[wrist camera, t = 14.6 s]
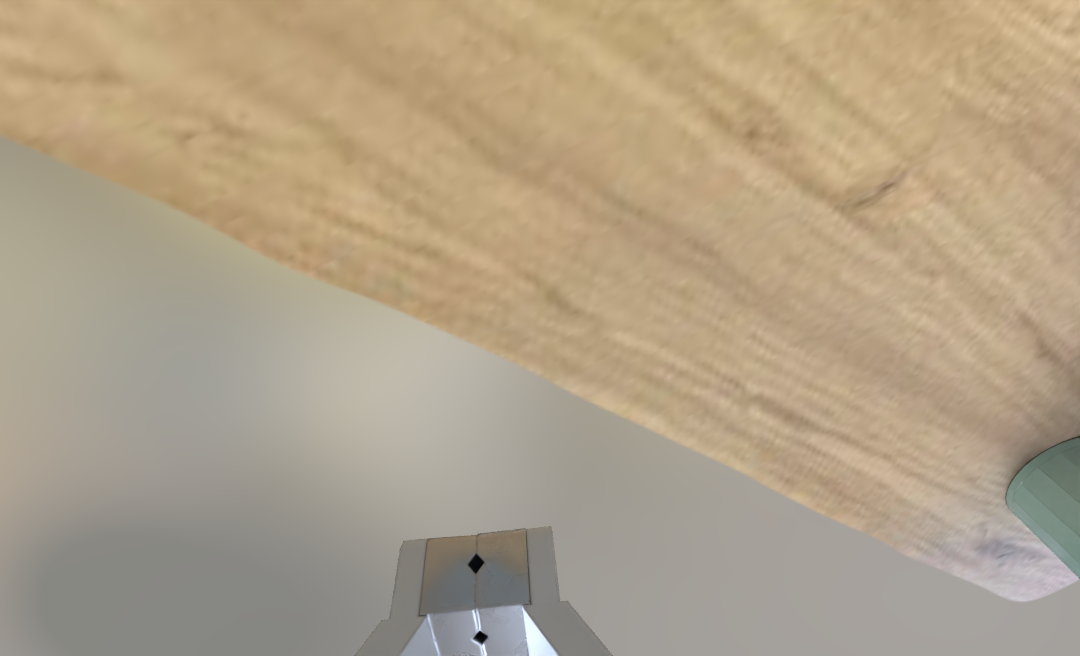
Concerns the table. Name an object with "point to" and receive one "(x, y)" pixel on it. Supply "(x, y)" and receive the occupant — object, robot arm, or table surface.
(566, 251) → the table surface
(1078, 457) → the sage cup
